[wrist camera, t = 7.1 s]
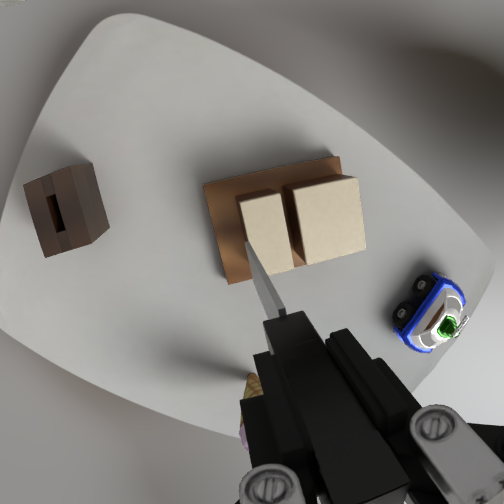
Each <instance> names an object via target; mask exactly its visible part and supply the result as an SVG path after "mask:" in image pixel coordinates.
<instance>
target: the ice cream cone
mask: <svg viewBox="0 0 504 504" xmlns="http://www.w3.org/2000/svg"><path fill="white" fill-rule="evenodd" d="M262 394H263V391H262V387H261V383H260V380H259V377H258V376H257V375H256V374H249V375H248V378H247V383H246V387H245V392H244V397H243V399H246V398H250V397H254V396H258V395H262ZM239 434H240V437H241V442H242V445H243V446H244V448H245V449H246V450H247V451H249V449H248V444H247V439H246V434H245V428H244V423H243V418H242V412H241V421H240V431H239Z"/></svg>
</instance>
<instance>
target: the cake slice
mask: <svg viewBox="0 0 504 504" xmlns="http://www.w3.org/2000/svg"><path fill="white" fill-rule="evenodd" d="M235 199H236V204H237V208H238V212H239V217H240V221H241V225H242V230H243V234H244V238H245V242H246V241H249V242H250V244H251V246H252V248H253V250H254V251H255V253H256V255H257V257H258V259H259V260H260V262H261V264H262V266H263V268H264V270H265V271H266V273H267V275H268V276H269V275H273V274H277V273H280V272H284V271H288V270H292V269H294V264H293V259H292V253H291V248H290V242H289V237H288V232H287V226H286V221H285V216H284V211H283V206H282V201H281V196H280V193H278V192H276V191H274V190H272V189H270V188H268V189H264V190H259V191H255V192H251V193H246V194H242V195H238V196H235Z"/></svg>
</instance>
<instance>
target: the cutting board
mask: <svg viewBox="0 0 504 504" xmlns="http://www.w3.org/2000/svg"><path fill="white" fill-rule="evenodd" d="M335 174H342V170H341V164H340V158H339V156H332V157H327V158H321V159H316V160H311V161H305V162H300V163H295V164H290V165H285V166H280V167H276V168H271V169H266V170H262V171H257V172H252V173H248V174H244V175H239V176H235V177H231V178H227V179H222V180H218V181H214V182H210V183H206V184H203V187H204V191H205V196H206V200H207V204H208V208H209V212H210V216H211V220H212V224H213V228H214V232H215V236H216V240H217V244H218V247H219V251H220V255H221V259H222V263H223V267H224V271H225V274H226V278H227V282H228V285H229V284H233V283H237V282H241V281H245V280H249V279H253V278H252V273H251V269H250V264H249V260H248V256H247V251H246V247H245V238H244V234H243V230H242V225H241V221H240V217H239V212H238V208H237V204H236V199H235V196H238V195H242V194H246V193H251V192H255V191H259V190H264V189H268V188H270V189H272V190H274V191H276V192H278V193H280V196H281V201H282V206H283V211H284V216H285V221H286V226H287V232H288V237H289V242H290V248H291V253H292V259H293V264H294V268H295V267H298V266H302V265H306V263H305V262H304V261H303V260H302V259H301V258H300V257H299V256H298V255H297V253H296V252H295V251H294V245H293V240H292V235H291V229H290V224H289V218H288V213H287V208H286V203H285V198H284V193H283V188H282V186H283V185H286V184H291V183H296V182H300V181H305V180H310V179H315V178H320V177H325V176H330V175H335Z"/></svg>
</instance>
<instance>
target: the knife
mask: <svg viewBox="0 0 504 504" xmlns="http://www.w3.org/2000/svg"><path fill="white" fill-rule="evenodd" d="M245 247H246V251H247V256H248V260H249V264H250V269H251V273H252V278H253V282H254V285H255V287H256V290H257V292H258V295H259V297H260V300H261V302H262V305H263V307H264V309H265V312H266V314H267V317H268V319H269V320H266V321H263V327H264V331H265V336H266V340H267V344H268V349H269V351H270V353H271V355H273V354H278V356H279V359H280V361H281V364H282V366H283V369H284V371H285V374H286V377H287V379H288V382H289V384H290V387H291V389H292V392H293V395H294V397H295V400H296V402H297V405H298V407H299V410H300V412H301V415H302V417H303V420H304V423H305V425H306V428H307V430H308V433H309V435H310V438H311V441H312V445H313V449H314V451H313V452H312V459H313V465H314V472H315V479H316V485H317V492H318V497H319V499H320V502H321V504H404V501H405V498H406V495H407V493H408V490H409V487H410V484H411V479H410V477H409V476H408V474H407V473H406V471H405V469H404V468H403V466H402V465H401V463H400V461H399V460H398V458H397V457H396V455H395V453H394V452H393V450H392V449H391V447H390V445H389V444H388V442H387V441H386V439H385V437H384V436H383V434H382V433H381V431H380V430H379V428H378V427H377V426H376V424H375V422H374V421H373V419H372V418H371V416H370V415H369V413H368V411H367V410H366V408H365V407H364V405H363V403H362V402H361V400H360V399H359V397H358V396H357V394H356V392H355V391H354V389H353V388H352V386H351V385H350V383H349V381H348V380H347V378H346V377H345V375H344V374H343V372H342V370H341V369H340V367H339V366H338V364H337V363H336V361H335V359H334V358H333V356H332V355H331V353H330V352H329V350H328V348H327V347H326V345H325V343H324V342H323V340H322V339H321V337H320V336H319V334H318V333H317V331H316V329H315V328H314V326H313V325H312V323H311V322H310V320H309V319H308V317H307V316H306V314H305V312H304V311H299V312H295V313H292V314H288V315H287V314H286V308H285V306H284V304H283V302H282V300H281V299H280V297H279V295H278V293H277V291H276V290H275V288H274V286H273V284H272V282H271V280H270V279H269V277H268V275H267V273H266V271H265V270H264V268H263V266H262V264H261V262H260V260H259V259H258V257H257V255H256V253H255V251H254V250H253V248H252V246H251V244H250V242H249V241H246V242H245Z"/></svg>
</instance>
